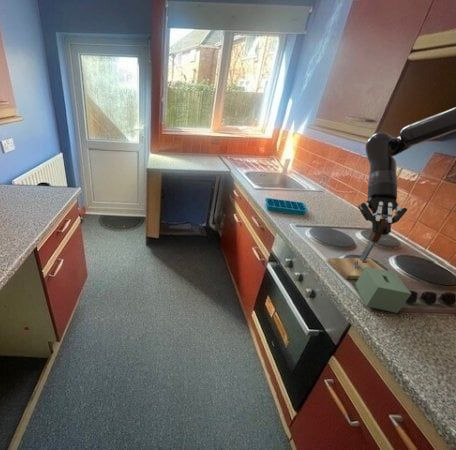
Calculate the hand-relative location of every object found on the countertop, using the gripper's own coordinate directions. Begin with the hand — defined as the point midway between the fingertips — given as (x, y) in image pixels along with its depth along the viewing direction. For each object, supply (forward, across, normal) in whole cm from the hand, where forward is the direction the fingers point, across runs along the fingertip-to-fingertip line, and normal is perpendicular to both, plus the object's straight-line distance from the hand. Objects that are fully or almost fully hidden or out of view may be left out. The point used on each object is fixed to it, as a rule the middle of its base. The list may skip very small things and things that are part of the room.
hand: (381, 233), depth 82 cm
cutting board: (+11, 0, -13) cm, 17 cm away
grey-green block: (+21, 0, -3) cm, 21 cm away
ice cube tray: (-23, +20, -47) cm, 56 cm away
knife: (+8, 0, -11) cm, 13 cm away
